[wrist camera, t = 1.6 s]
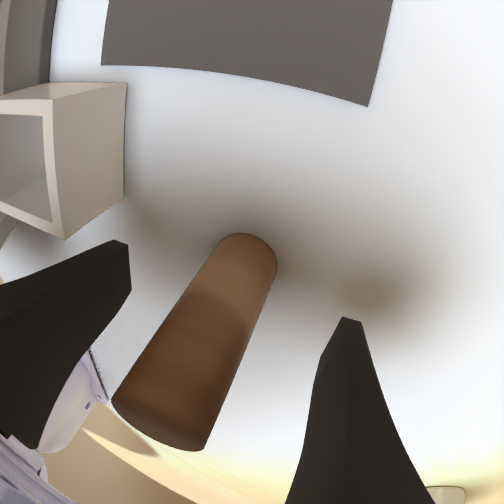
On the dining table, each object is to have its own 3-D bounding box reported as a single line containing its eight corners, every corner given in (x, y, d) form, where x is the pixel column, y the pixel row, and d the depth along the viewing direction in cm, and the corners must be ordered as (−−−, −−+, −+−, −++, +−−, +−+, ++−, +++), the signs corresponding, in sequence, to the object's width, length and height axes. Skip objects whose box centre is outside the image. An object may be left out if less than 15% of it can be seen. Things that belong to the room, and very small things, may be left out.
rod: (269, 295, 12) (202, 459, 7) (212, 276, 13) (120, 423, 7) (283, 245, 11) (207, 428, 5) (219, 225, 11) (102, 380, 6)
